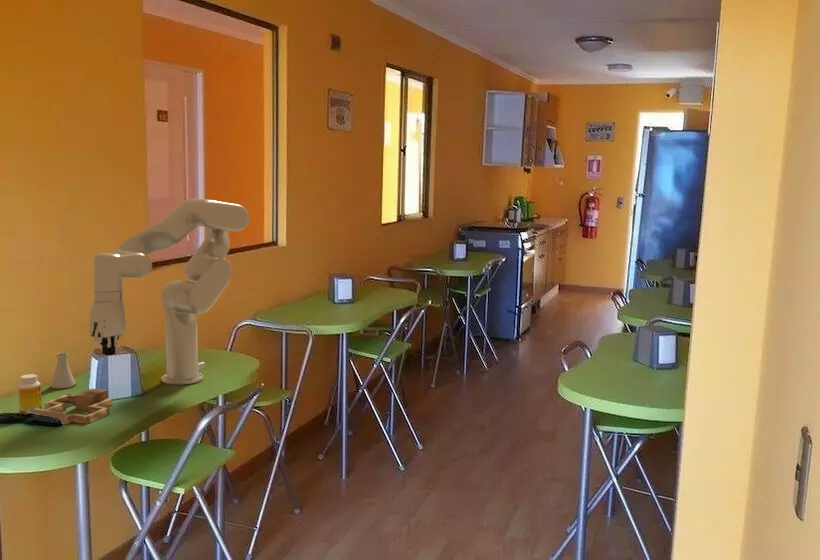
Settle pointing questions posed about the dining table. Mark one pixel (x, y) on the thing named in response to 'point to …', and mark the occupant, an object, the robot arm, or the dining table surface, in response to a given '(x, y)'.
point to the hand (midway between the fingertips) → (108, 359)
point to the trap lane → (61, 403)
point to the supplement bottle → (29, 394)
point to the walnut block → (90, 398)
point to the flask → (62, 373)
